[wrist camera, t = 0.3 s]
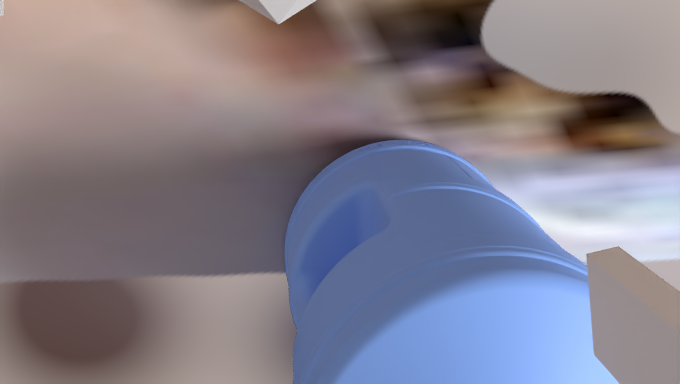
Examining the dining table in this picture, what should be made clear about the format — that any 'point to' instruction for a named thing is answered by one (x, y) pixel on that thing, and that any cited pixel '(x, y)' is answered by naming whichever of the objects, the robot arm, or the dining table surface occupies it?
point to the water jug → (430, 278)
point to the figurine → (1, 8)
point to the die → (277, 8)
